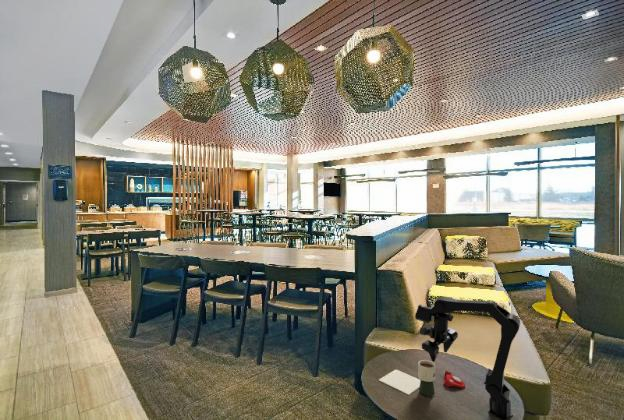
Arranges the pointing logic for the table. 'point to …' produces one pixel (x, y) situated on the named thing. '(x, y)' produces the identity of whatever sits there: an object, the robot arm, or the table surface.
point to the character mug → (426, 377)
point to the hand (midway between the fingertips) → (439, 356)
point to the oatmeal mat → (401, 381)
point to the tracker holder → (453, 380)
